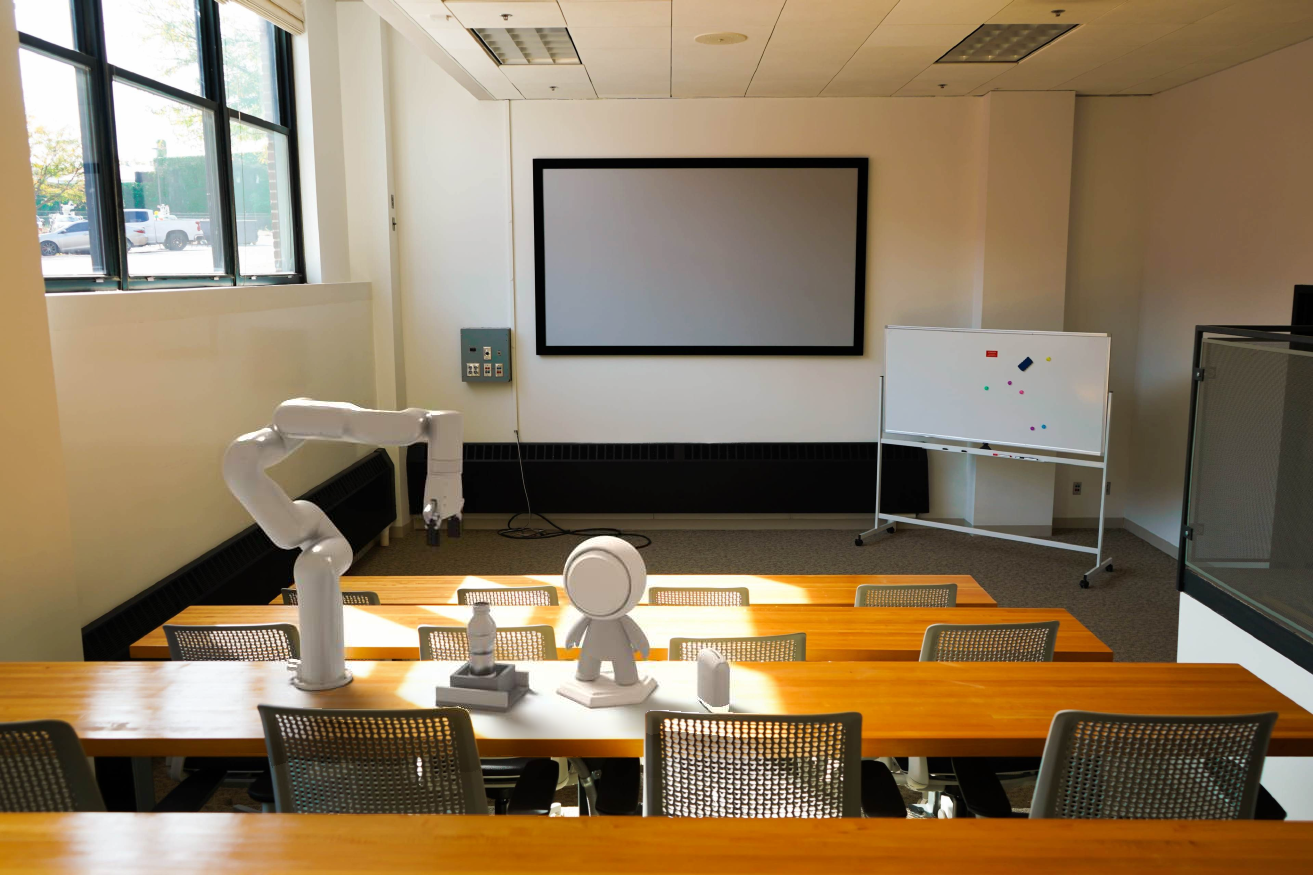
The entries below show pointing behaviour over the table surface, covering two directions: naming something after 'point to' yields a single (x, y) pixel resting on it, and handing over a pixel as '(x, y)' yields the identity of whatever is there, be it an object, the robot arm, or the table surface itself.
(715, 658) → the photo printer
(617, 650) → the white cartoon figure
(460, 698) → the gray open square box
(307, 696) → the table surface
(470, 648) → the plastic bottle
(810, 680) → the table surface
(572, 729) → the table surface
